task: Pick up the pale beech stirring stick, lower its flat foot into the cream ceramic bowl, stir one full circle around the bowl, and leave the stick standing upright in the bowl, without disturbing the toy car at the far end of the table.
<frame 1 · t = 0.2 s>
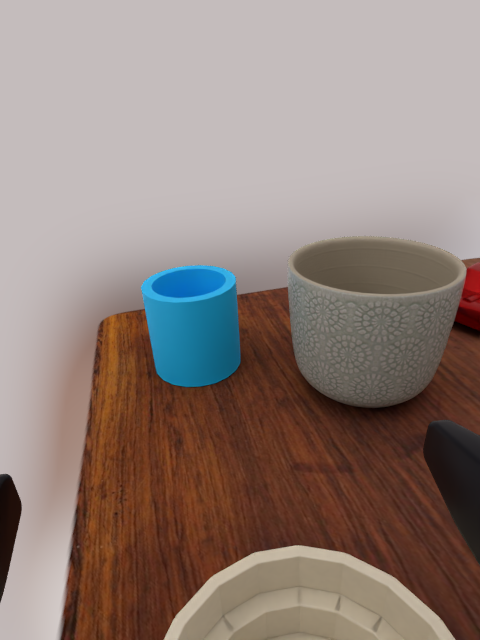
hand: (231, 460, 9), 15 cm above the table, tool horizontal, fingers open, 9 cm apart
planter: (359, 382, 35), on the table
mug: (203, 351, 41), on the table
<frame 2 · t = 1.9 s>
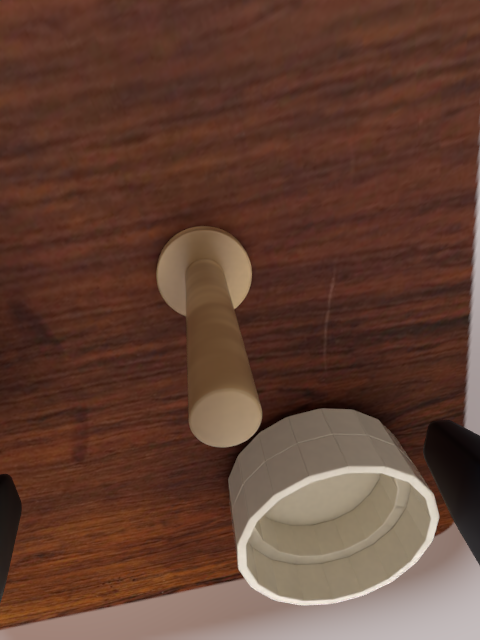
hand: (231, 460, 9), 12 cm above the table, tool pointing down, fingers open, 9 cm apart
bowl: (312, 471, 26), on the table
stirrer: (204, 271, 19), on the table
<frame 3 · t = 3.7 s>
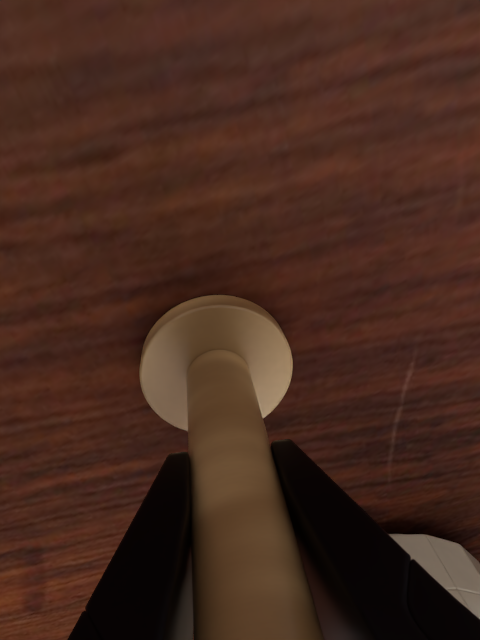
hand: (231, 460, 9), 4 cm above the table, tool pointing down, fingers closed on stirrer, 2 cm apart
bowl: (360, 601, 19), on the table
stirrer: (215, 361, 12), on the table, touching gripper
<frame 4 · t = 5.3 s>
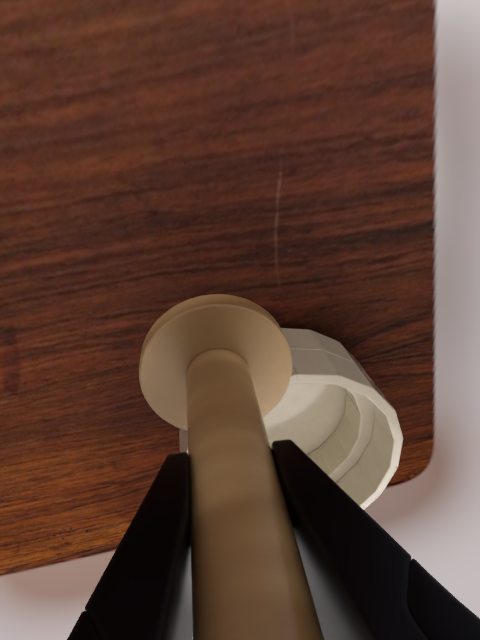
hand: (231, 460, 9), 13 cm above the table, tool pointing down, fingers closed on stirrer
bowl: (272, 405, 24), on the table
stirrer: (215, 360, 12), point 9 cm above the table, touching gripper
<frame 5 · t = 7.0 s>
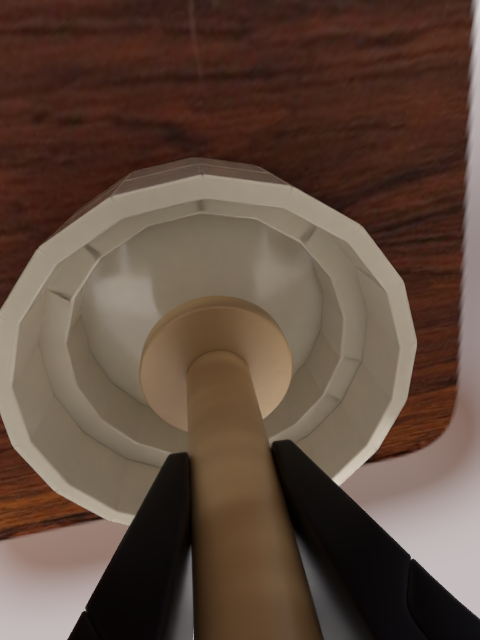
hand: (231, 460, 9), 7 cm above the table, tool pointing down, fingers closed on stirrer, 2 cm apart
bowl: (206, 314, 15), on the table
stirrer: (215, 361, 12), point 3 cm above the table, touching gripper
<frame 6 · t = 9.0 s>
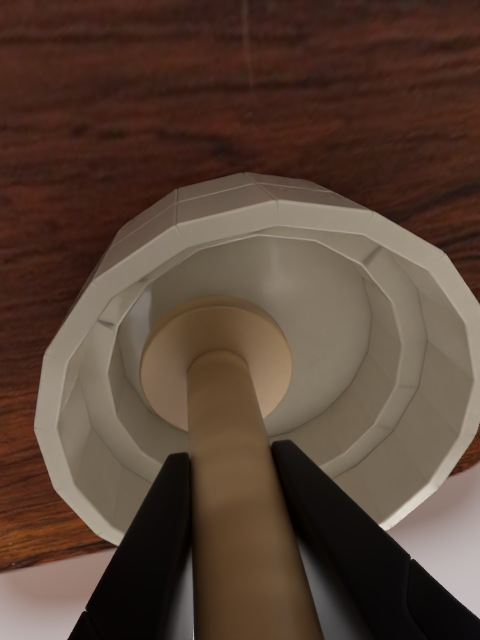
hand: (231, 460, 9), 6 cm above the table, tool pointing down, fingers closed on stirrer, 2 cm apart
bowl: (246, 336, 14), on the table
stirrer: (216, 361, 12), point 2 cm above the table, touching gripper
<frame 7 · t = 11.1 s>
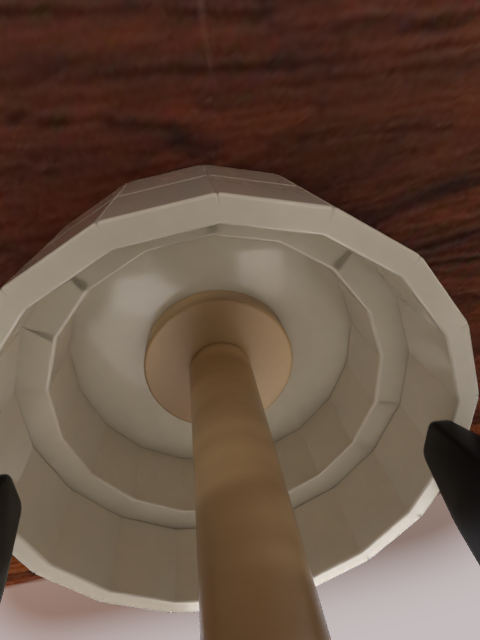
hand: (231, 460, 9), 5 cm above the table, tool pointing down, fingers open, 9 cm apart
bowl: (214, 345, 13), on the table
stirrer: (217, 354, 13), point 1 cm above the table, touching bowl
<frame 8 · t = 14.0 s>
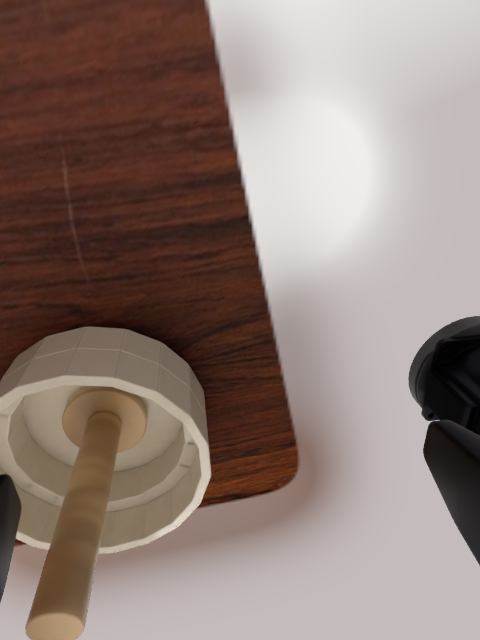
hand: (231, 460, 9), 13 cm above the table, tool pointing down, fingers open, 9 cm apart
bowl: (107, 408, 23), on the table
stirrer: (107, 414, 23), point 1 cm above the table, touching bowl
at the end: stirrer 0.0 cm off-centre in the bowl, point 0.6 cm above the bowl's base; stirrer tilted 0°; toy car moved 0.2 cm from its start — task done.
